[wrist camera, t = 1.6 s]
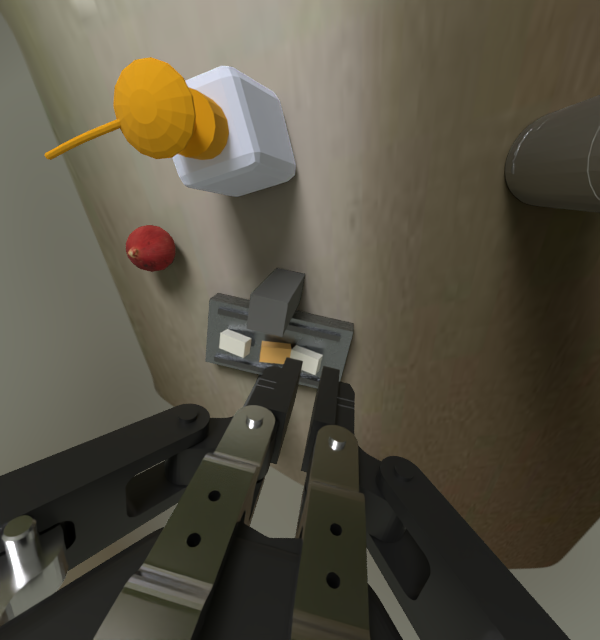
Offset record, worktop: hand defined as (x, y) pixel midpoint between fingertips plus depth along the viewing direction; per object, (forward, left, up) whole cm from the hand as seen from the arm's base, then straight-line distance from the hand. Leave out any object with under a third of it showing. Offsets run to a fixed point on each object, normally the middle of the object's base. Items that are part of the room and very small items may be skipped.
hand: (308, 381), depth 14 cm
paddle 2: (+1, +15, -28) cm, 32 cm away
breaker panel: (+6, +15, -31) cm, 35 cm away
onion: (+24, +4, -31) cm, 40 cm away
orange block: (+6, +15, -28) cm, 32 cm away
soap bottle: (+15, -9, -31) cm, 36 cm away
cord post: (+6, +6, -31) cm, 32 cm away
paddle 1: (+11, +15, -28) cm, 33 cm away
